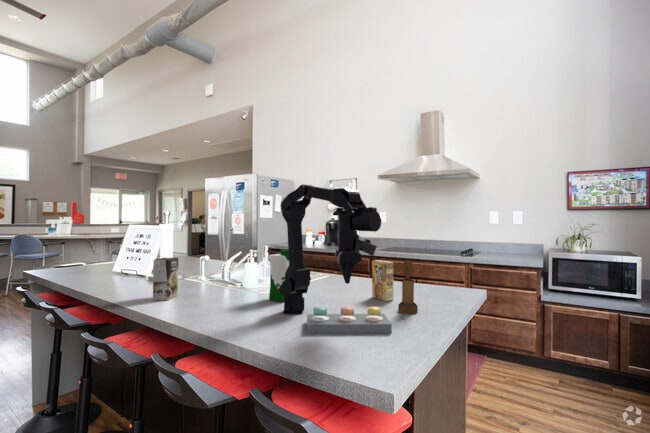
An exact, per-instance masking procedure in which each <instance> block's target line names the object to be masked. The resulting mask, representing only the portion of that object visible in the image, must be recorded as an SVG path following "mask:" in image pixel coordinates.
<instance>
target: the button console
mask: <svg viewBox="0 0 650 433" xmlns="http://www.w3.org/2000/svg"><path fill="white" fill-rule="evenodd" d="M305 324H306V331H305V332H306V334H392V329H393V328H392V327H393V326H392V323H391V322H390V320H389V319H388V317H387V316H386V314H385V313H381V315H376V316H375V315H369V314H367V313H354V315H350V316H346V315H341V313H327V315H323V316H317V315H314V313H307V314H306V323H305Z"/></svg>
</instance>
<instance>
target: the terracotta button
mask: <svg viewBox="0 0 650 433" xmlns="http://www.w3.org/2000/svg"><path fill="white" fill-rule="evenodd" d="M340 314H341V315H346V316H350V315H354V314H355V308H354V307H353V306H342V307H340Z"/></svg>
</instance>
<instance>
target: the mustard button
mask: <svg viewBox="0 0 650 433" xmlns="http://www.w3.org/2000/svg"><path fill="white" fill-rule="evenodd" d="M366 310H367V312H366V314H369V315H375V316H376V315H381V314H382V308H381V307H379V306H369V307H367V309H366Z"/></svg>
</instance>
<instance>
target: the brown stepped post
mask: <svg viewBox="0 0 650 433" xmlns="http://www.w3.org/2000/svg"><path fill="white" fill-rule="evenodd" d="M403 266H404V269H405V272H404V277H405V278H403V279H402V283H401V284H402V287H401V289H402V291H401V292H402V293H401V294H402V295H401V298H402V299H401V302H400V303H398V307H397V308H398V309H397V310H398V312H399V313H402V314H408V315H410V314H411V315H412V314H413V315H414V314H417V313H418V305H417V304H416V303H415V301H414V294H415V292H414V291H415V290H414V288H415V286H414V285H415V281H414V279H412V278H411V277H412V272H411V269H412V268H413V262H412V260H411V259H406V260H404V262H403Z"/></svg>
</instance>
